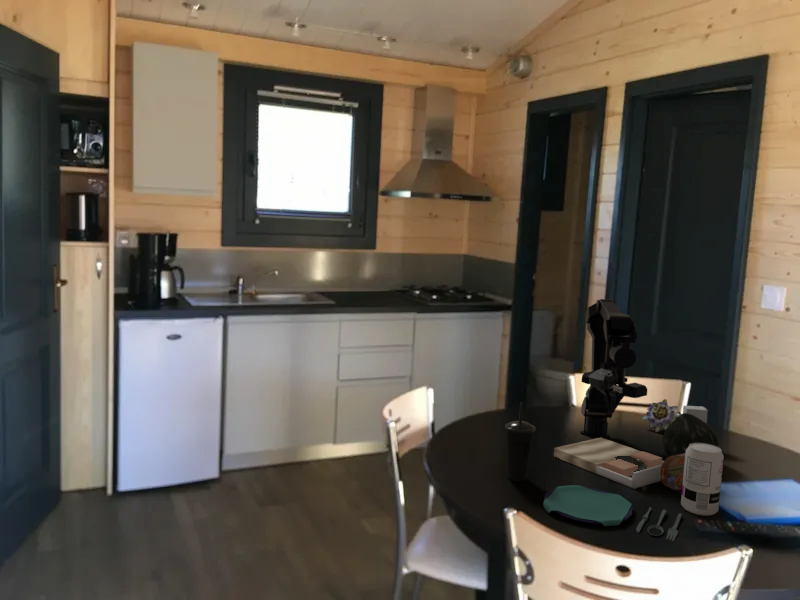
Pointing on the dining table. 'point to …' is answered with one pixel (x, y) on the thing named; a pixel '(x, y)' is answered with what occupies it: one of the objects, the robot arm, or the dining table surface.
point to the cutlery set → (597, 507)
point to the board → (592, 453)
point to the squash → (687, 434)
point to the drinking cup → (518, 447)
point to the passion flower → (661, 415)
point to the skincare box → (696, 412)
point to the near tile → (621, 467)
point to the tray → (633, 476)
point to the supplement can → (702, 479)
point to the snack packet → (673, 471)
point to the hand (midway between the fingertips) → (611, 413)
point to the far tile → (648, 458)
